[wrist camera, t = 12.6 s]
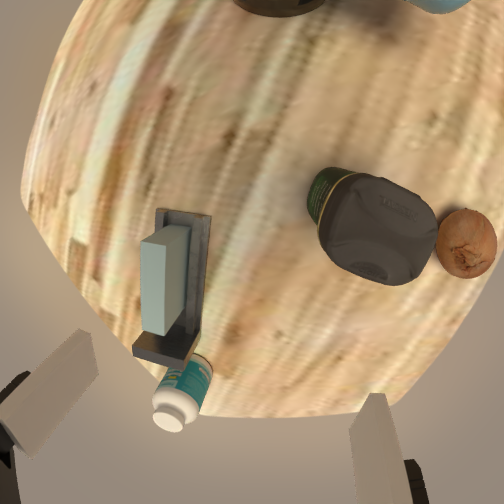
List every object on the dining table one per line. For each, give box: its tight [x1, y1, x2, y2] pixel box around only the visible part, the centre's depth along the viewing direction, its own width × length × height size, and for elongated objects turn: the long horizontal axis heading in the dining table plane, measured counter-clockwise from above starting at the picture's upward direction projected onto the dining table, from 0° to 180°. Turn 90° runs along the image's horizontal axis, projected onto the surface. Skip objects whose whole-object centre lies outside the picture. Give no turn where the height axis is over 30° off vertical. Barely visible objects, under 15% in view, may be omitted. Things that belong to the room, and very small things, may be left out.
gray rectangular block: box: [140, 224, 192, 336], centre depth 37 cm, size 12×3×9 cm, turn 172°
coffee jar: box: [307, 167, 438, 286], centre depth 27 cm, size 10×8×19 cm
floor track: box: [132, 208, 211, 371], centre depth 39 cm, size 20×8×9 cm, turn 172°
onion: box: [436, 208, 497, 279], centre depth 31 cm, size 10×9×10 cm
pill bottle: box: [152, 354, 213, 432], centre depth 41 cm, size 8×7×14 cm
